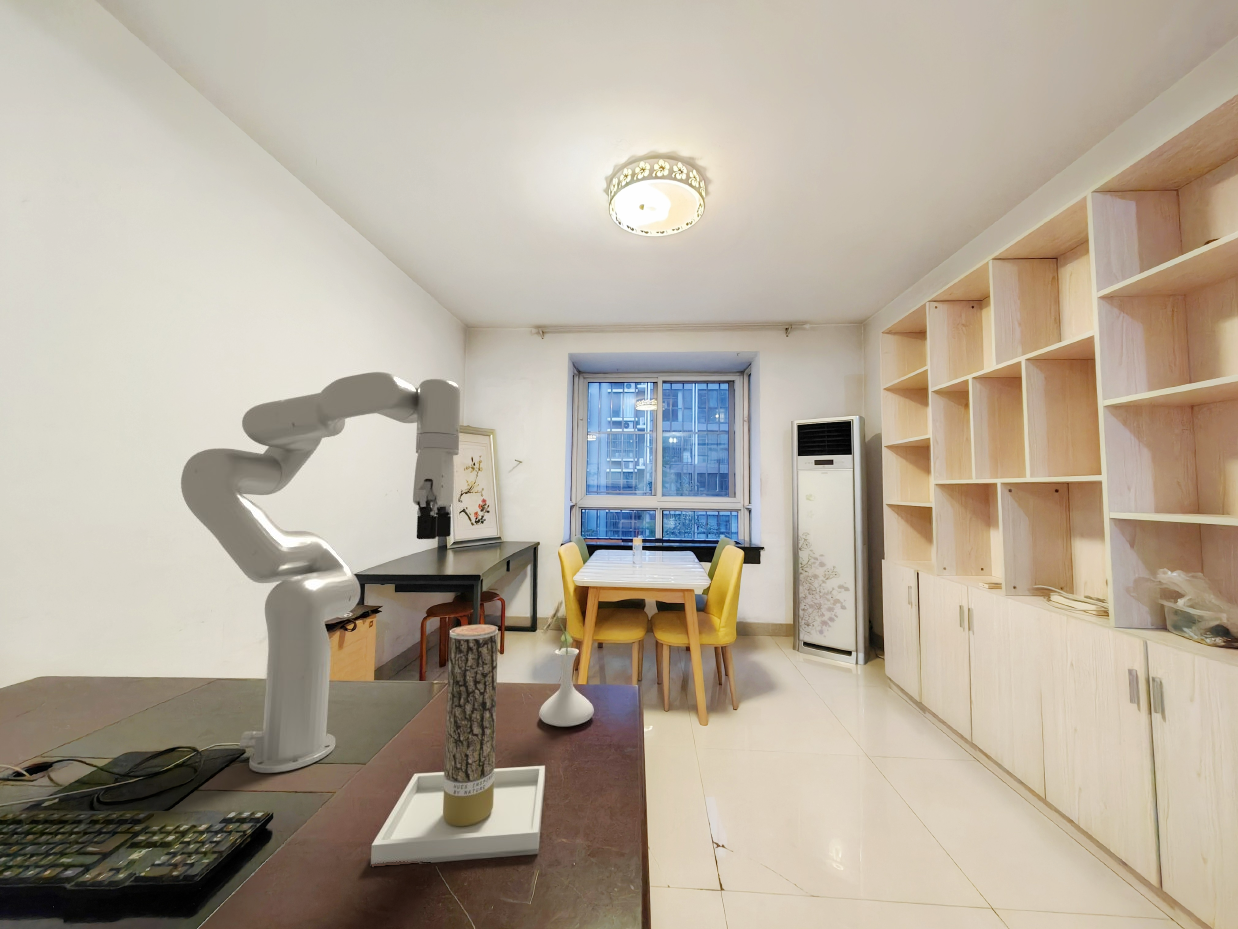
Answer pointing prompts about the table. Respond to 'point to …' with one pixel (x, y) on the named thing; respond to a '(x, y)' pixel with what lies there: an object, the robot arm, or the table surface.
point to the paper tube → (470, 724)
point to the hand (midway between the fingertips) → (434, 537)
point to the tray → (431, 839)
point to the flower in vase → (565, 686)
